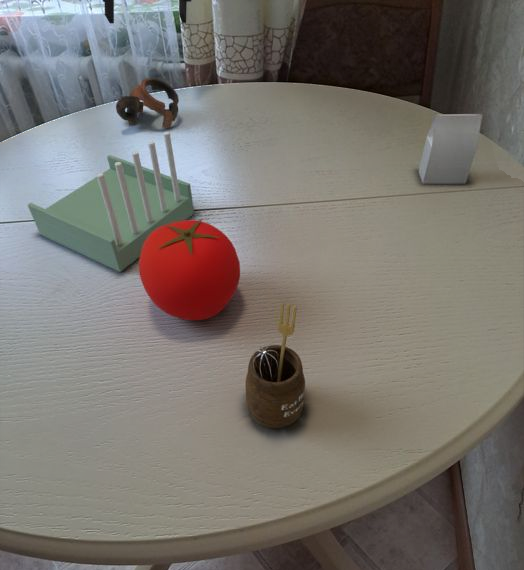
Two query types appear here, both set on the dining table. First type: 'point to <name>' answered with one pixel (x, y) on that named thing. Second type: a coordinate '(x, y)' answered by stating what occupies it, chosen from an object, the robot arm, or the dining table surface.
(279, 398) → the utensil holder
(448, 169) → the grey block
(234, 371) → the dining table surface
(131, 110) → the brown curved ring piece
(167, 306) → the tomato
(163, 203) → the dish rack
